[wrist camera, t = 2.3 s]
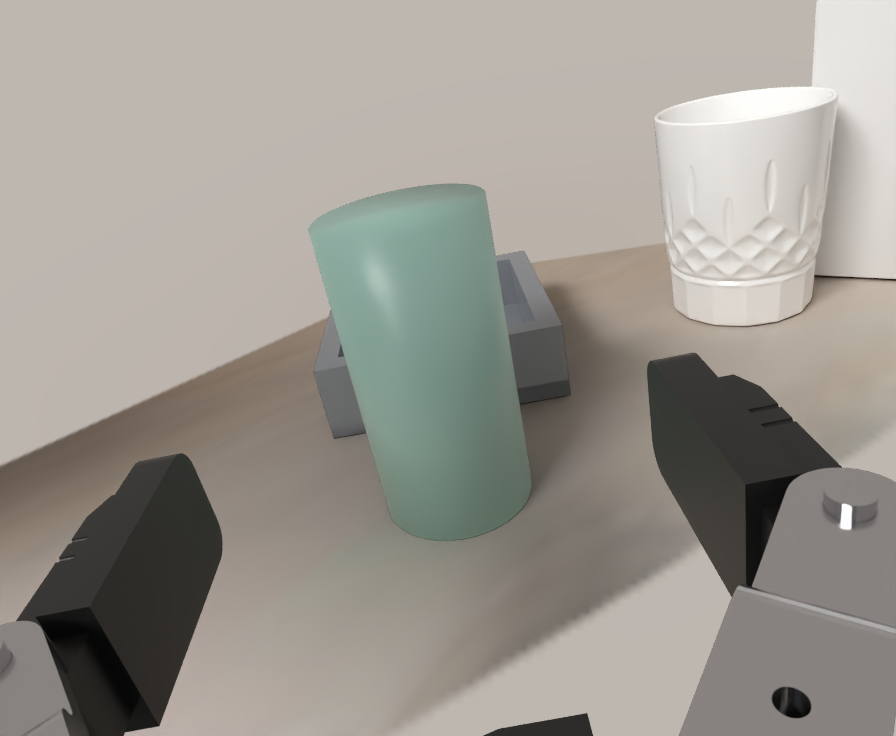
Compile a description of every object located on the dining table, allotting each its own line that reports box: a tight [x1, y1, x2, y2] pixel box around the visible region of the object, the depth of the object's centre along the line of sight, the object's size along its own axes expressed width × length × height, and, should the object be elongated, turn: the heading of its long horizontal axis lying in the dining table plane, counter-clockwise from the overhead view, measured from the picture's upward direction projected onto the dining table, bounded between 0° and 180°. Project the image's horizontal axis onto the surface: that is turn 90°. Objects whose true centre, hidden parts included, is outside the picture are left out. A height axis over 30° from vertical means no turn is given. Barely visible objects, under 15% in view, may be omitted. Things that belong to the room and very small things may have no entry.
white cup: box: [654, 87, 839, 326], centre depth 34 cm, size 8×8×10 cm
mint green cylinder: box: [309, 184, 532, 541], centre depth 24 cm, size 6×6×11 cm
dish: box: [313, 251, 571, 438], centre depth 35 cm, size 11×11×4 cm
